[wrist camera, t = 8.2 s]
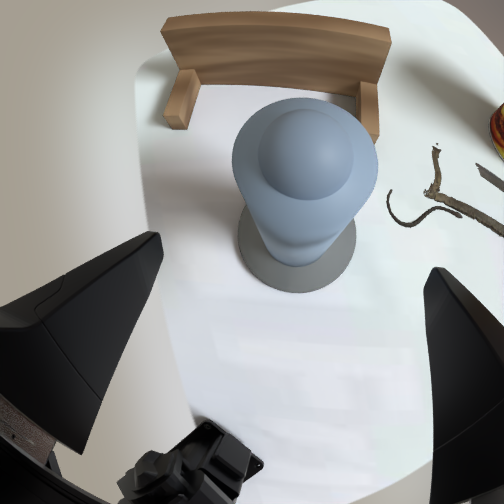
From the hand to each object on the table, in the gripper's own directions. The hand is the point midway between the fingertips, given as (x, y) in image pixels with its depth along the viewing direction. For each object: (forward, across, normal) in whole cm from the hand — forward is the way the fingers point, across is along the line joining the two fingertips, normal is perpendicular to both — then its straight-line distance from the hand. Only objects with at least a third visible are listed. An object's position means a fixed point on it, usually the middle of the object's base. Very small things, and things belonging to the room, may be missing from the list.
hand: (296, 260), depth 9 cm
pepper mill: (+12, 0, +7) cm, 13 cm away
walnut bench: (+21, +3, -2) cm, 21 cm away
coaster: (+12, 0, +7) cm, 14 cm away
